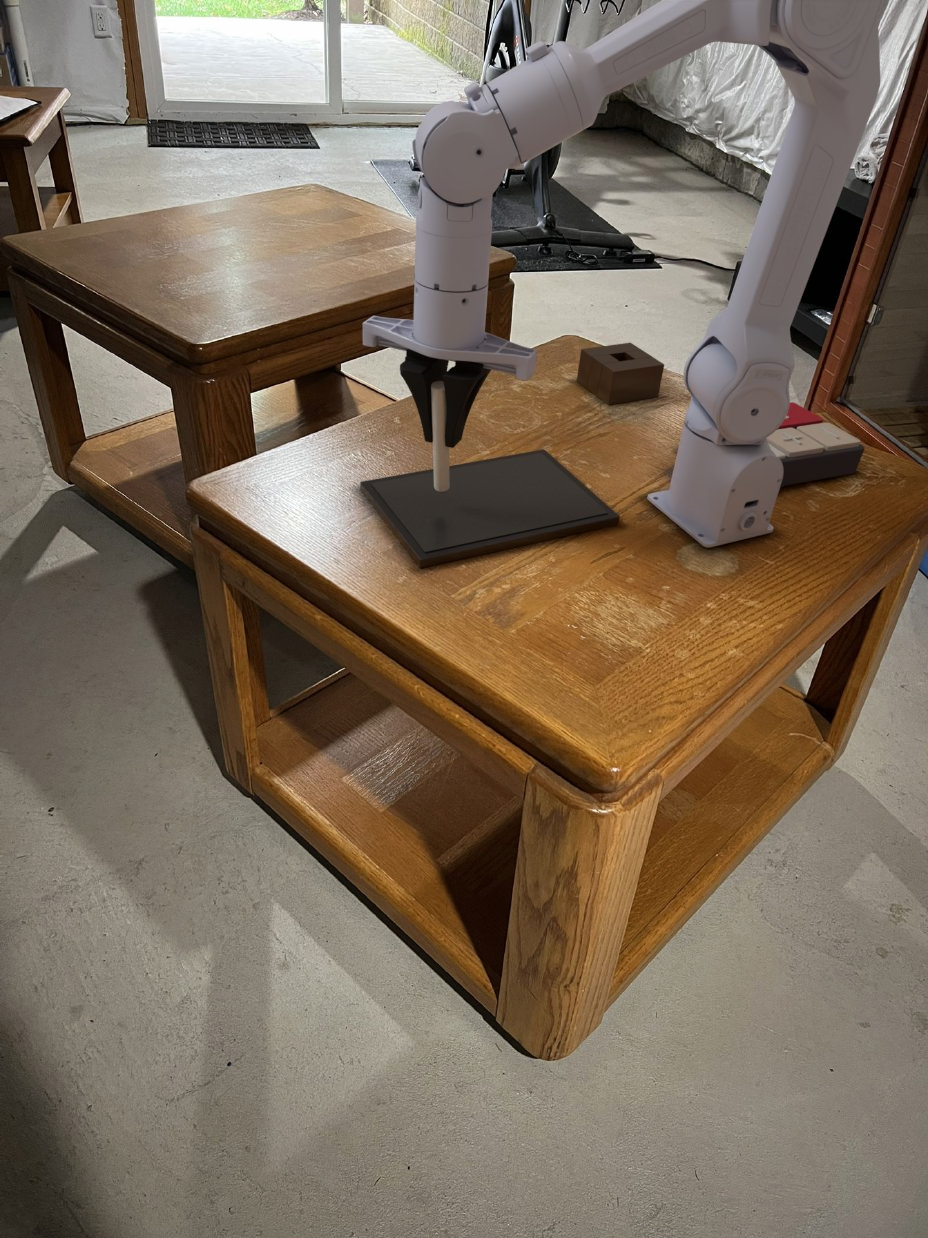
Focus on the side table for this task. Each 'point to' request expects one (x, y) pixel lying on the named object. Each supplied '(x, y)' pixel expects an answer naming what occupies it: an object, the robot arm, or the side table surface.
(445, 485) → the stylus
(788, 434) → the grey box with panels
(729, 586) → the side table surface
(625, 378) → the pen stand
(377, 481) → the tablet
